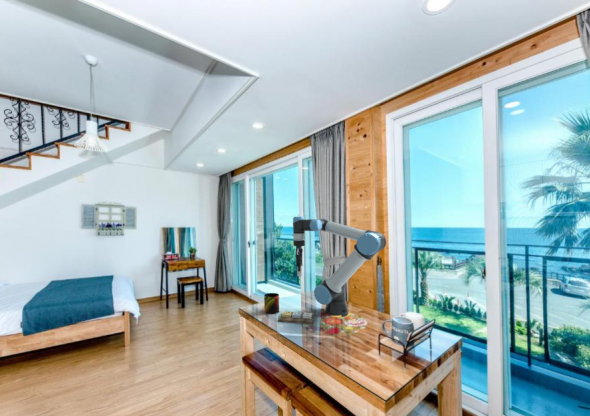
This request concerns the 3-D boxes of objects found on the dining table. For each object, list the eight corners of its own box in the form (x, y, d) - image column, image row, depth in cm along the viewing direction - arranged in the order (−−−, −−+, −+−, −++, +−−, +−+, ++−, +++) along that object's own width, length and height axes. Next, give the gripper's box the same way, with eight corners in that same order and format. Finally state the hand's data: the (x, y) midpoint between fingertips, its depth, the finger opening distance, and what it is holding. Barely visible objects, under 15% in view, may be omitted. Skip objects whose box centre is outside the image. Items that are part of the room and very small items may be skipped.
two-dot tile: (301, 318, 163) (301, 312, 163) (300, 321, 158) (300, 315, 158) (293, 317, 164) (293, 311, 164) (292, 320, 159) (292, 314, 159)
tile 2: (312, 318, 162) (312, 312, 162) (311, 322, 157) (311, 315, 157) (304, 318, 163) (304, 312, 163) (302, 321, 158) (302, 315, 158)
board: (314, 317, 166) (314, 312, 166) (311, 326, 152) (311, 321, 152) (284, 315, 170) (283, 311, 170) (278, 323, 156) (278, 319, 156)
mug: (273, 308, 184) (273, 290, 184) (281, 314, 171) (281, 295, 172) (260, 310, 179) (260, 292, 180) (267, 317, 167) (267, 298, 167)
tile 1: (291, 317, 164) (291, 311, 164) (289, 320, 159) (289, 314, 159) (283, 317, 165) (283, 311, 165) (281, 320, 160) (281, 314, 160)
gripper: (295, 239, 180) (296, 273, 180) (291, 240, 168) (291, 278, 167) (306, 239, 179) (306, 274, 178) (302, 240, 166) (303, 278, 165)
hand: (299, 276), depth 173 cm, fingers closed
